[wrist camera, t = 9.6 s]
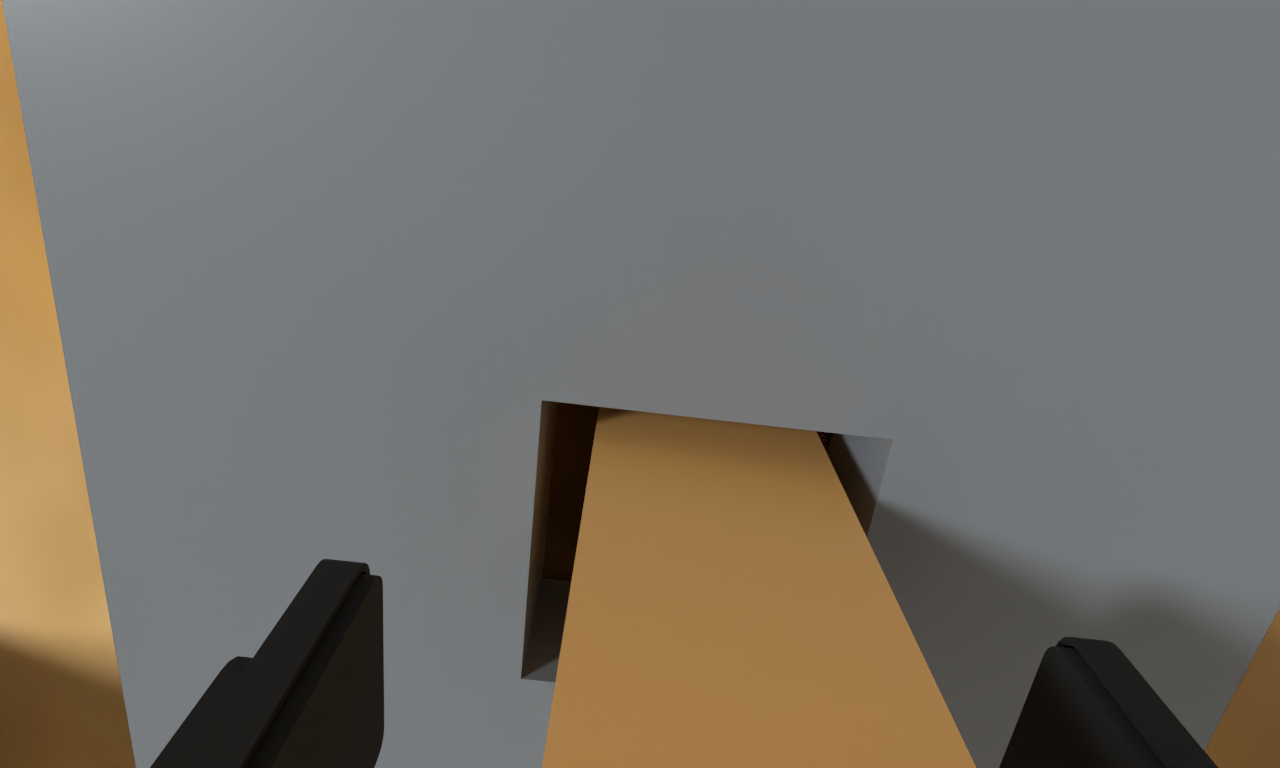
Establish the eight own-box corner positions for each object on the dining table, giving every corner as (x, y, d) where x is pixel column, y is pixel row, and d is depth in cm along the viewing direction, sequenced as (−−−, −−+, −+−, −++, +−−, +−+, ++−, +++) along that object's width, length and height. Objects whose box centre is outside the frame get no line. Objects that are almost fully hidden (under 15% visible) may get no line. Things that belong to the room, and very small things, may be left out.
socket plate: (126, -165, 12) (-40, -243, 9) (1389, 3, 12) (1609, -20, 9) (232, 788, 19) (160, 910, 16) (1016, 862, 20) (1077, 992, 17)
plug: (604, 375, 15) (525, 873, 5) (804, 407, 15) (1058, 939, 6) (577, 548, 16) (479, 1171, 7) (760, 574, 16) (904, 1215, 7)
